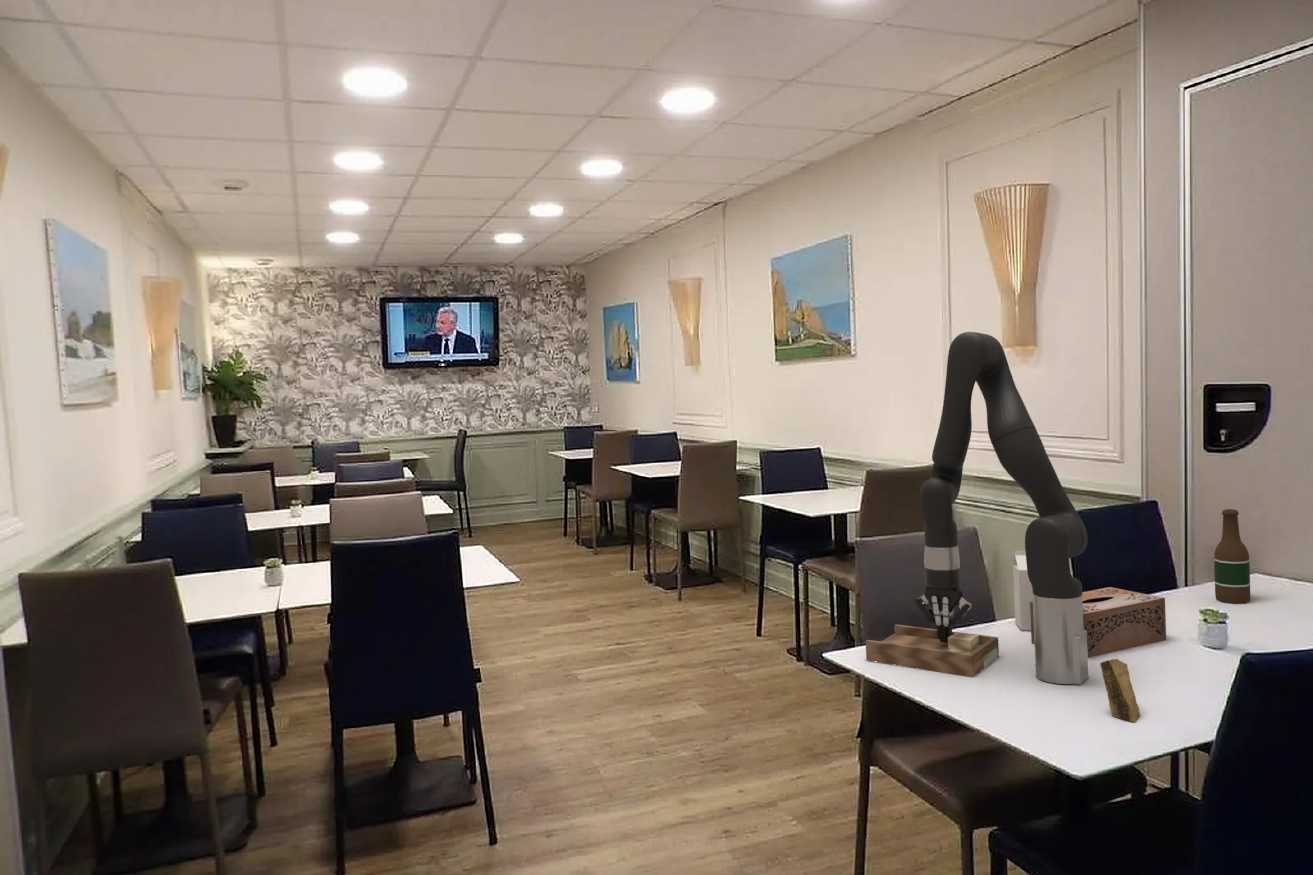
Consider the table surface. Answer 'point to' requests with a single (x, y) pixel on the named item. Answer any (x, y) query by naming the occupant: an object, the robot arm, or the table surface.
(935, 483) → the robot arm
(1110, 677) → the rock
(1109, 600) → the tissue box cover
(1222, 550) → the beer bottle
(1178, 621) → the table surface
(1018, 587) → the milk carton
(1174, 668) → the table surface
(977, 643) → the maple block
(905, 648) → the box
